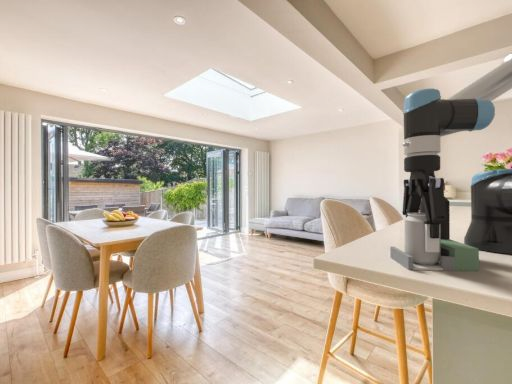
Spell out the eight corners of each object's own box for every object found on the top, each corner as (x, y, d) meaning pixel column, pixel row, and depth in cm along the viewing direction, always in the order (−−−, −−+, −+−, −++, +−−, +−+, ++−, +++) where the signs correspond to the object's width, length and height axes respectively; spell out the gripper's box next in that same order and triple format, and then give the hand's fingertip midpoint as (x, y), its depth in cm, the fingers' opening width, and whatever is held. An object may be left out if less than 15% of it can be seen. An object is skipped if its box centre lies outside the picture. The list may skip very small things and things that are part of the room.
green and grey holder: (449, 258, 68) (449, 239, 67) (478, 270, 58) (478, 248, 57) (390, 257, 69) (390, 239, 69) (408, 269, 59) (408, 248, 59)
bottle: (455, 257, 68) (455, 182, 68) (430, 257, 69) (429, 183, 68) (438, 250, 75) (438, 182, 75) (415, 250, 75) (414, 183, 75)
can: (447, 266, 59) (446, 214, 59) (411, 265, 61) (411, 214, 60) (431, 257, 66) (431, 211, 66) (400, 256, 68) (400, 211, 68)
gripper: (388, 160, 74) (389, 238, 74) (429, 150, 53) (429, 259, 54) (415, 159, 73) (416, 238, 73) (468, 149, 52) (468, 259, 53)
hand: (422, 247), depth 63 cm, fingers open, 8 cm apart
